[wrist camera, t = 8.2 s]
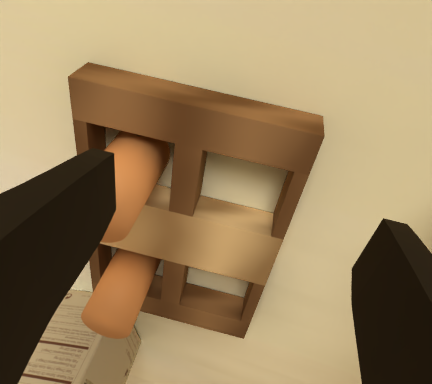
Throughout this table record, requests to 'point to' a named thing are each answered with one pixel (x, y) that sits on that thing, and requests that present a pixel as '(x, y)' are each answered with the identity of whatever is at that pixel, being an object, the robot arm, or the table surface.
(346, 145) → the table surface
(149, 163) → the loose pin
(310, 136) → the wooden grid frame
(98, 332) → the pin
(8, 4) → the table surface
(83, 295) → the supplement box
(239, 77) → the table surface
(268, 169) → the table surface
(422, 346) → the robot arm
